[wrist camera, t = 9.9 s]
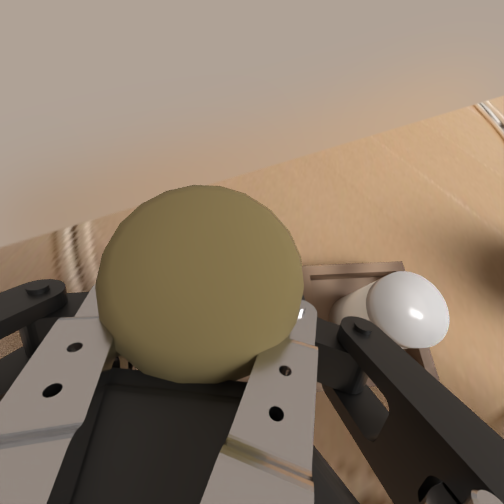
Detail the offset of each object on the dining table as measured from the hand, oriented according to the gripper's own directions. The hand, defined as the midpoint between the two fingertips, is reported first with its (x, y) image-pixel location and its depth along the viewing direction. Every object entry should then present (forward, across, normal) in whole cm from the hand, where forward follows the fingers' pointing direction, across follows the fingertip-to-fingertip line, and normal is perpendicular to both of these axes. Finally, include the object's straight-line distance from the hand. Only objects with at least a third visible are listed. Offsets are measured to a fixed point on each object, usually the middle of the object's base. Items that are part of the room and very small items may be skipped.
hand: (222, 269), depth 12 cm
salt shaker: (+10, -13, +9) cm, 19 cm away
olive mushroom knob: (+2, 0, +5) cm, 5 cm away
